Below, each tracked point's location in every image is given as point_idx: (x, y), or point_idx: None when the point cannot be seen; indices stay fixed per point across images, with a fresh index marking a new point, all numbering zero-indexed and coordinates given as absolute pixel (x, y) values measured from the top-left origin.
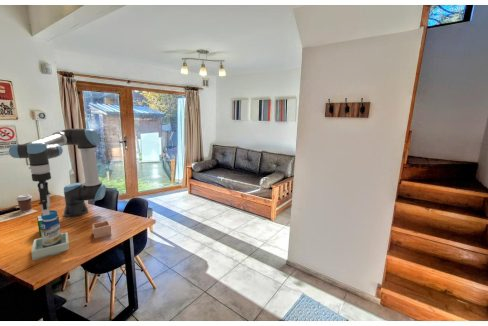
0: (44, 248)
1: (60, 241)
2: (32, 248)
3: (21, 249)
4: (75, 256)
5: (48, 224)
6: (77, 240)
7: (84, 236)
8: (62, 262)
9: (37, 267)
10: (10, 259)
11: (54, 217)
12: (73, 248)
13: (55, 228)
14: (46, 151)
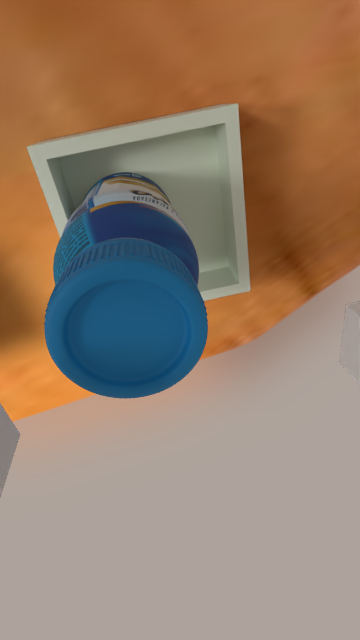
0: (244, 238)
1: (132, 176)
2: (210, 297)
3: None
4: (316, 45)
5: (196, 278)
6: (69, 68)
7: (4, 13)
8: (341, 118)
9: (314, 231)
10: None
11: (173, 255)
12: (193, 79)
13: (174, 217)
14: None
